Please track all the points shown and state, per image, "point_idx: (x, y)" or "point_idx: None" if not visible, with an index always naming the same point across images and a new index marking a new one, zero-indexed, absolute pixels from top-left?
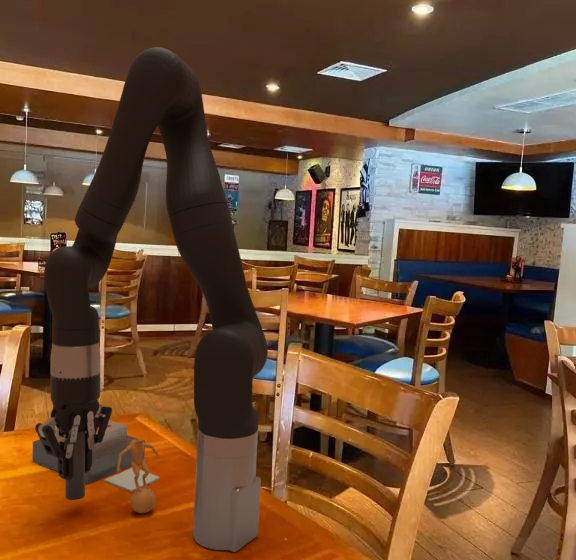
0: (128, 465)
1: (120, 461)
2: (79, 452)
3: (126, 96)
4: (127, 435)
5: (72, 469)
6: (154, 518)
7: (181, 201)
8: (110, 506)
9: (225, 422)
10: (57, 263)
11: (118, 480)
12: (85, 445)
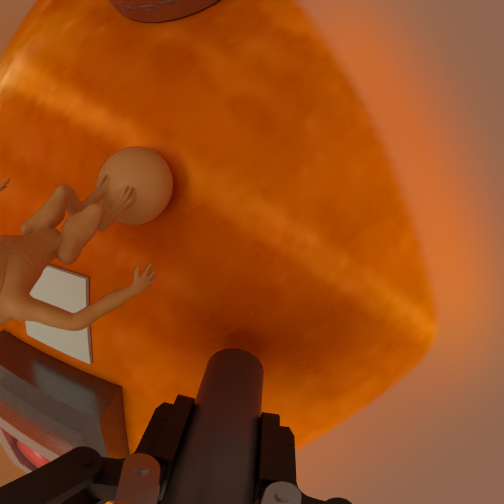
0: (28, 347)
1: (104, 298)
2: (225, 480)
3: None
4: None
5: (261, 436)
6: (165, 133)
7: None
8: (167, 284)
9: None
10: None
11: (73, 335)
12: (160, 485)
